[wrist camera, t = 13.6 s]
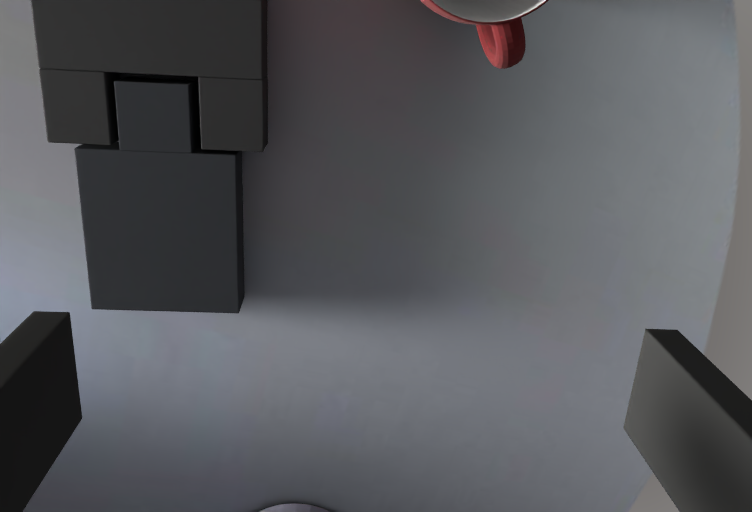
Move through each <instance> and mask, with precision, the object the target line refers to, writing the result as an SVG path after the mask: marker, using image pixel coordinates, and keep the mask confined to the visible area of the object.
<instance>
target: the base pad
mask: <svg viewBox="0 0 752 512" xmlns="http://www.w3.org/2000/svg"><path fill="white" fill-rule="evenodd" d="M31 7H32V15H33V24H34V32H35V40H36V49H37V57H38V65H39V68H41V69H39V74H40V82H41V90H42V99H43V107H44V115H45V124H46V132H47V140H48V142H54V143H76V144H98V145H111V144H113V143H115V142H116V141H118V140H119V134H118V122H117V110H116V97H115V85H114V81H116V80H120V75H119V73H137V74H157V75H176V76H195V77H199V102H200V128H201V149H207V150H229V151H252V152H263V151H264V149H265V147H266V146H267V144H268V77H267V0H31Z"/></svg>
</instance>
